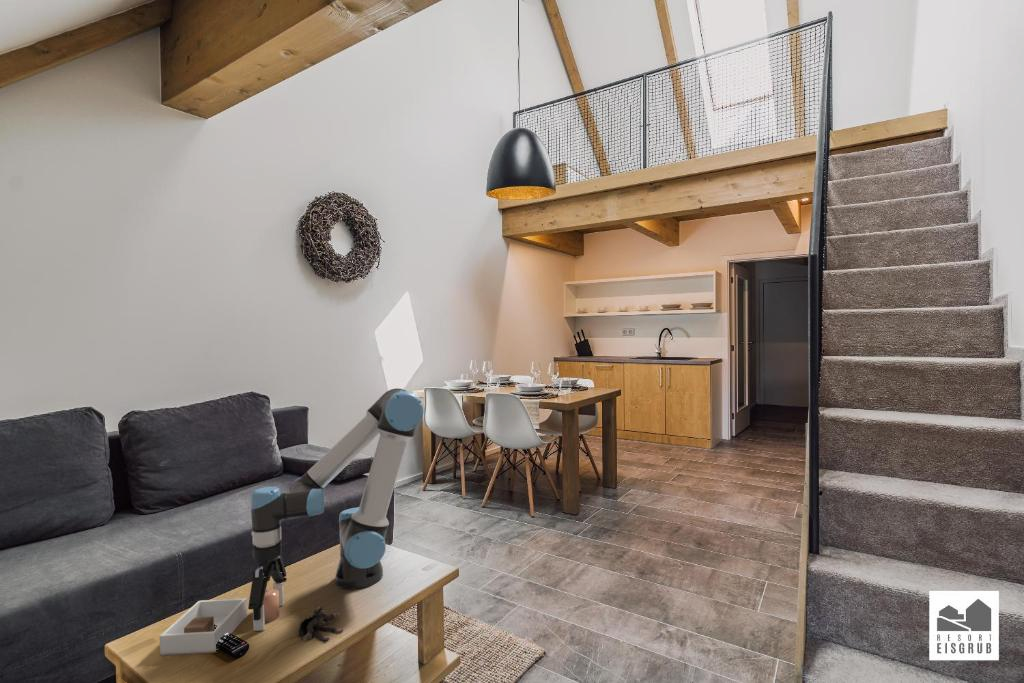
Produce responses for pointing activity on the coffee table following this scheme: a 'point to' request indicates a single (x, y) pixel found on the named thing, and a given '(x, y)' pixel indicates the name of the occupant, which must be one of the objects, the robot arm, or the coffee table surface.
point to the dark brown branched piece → (317, 625)
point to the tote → (225, 617)
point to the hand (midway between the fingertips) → (269, 617)
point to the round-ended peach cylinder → (271, 605)
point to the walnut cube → (200, 625)
